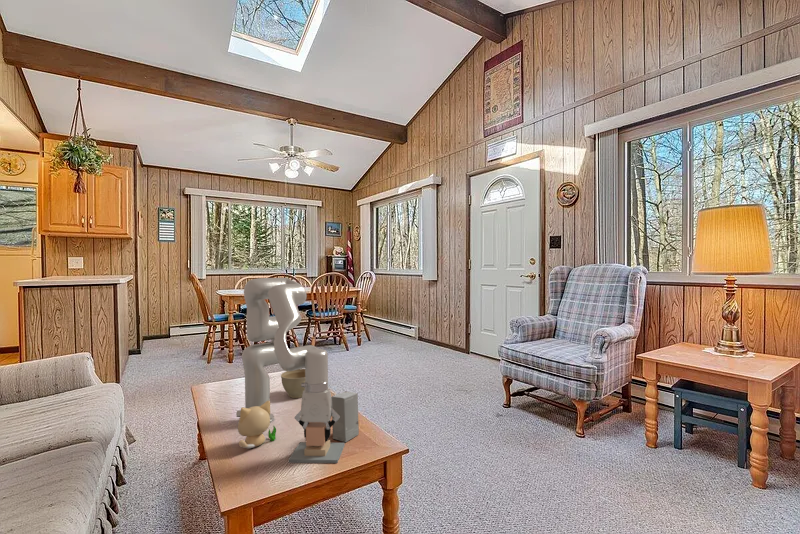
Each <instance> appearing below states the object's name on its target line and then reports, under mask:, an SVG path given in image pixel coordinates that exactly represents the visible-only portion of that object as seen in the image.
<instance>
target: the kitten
mask: <svg viewBox="0 0 800 534" xmlns="http://www.w3.org/2000/svg"><path fill="white" fill-rule="evenodd" d="M240 410H241V412H240V417H238V423H237V432H238V434H239V435H240V436H242V437H245V440H244V439H241V440H239V442H238V446H239V447H240V448H244V449H252V448H255V447H259V446H261V445H262V444H264V443H265V441H266V437H265V435H264V432H265V431H267V430H268V435H267V437H268V439H269V440H270V441H269V442H274V441H276V433H277V429H276V426H275V425H274V424H273V430H272V431H271V428H270V424H271V423H270V413H271V400H270V401H266V402H265V403H264V404H262V405H261V406H254V407H250V408H245V407H241V408H240ZM265 433H266V432H265Z"/></svg>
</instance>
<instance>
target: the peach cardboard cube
mask: <svg viewBox="0 0 800 534" xmlns="http://www.w3.org/2000/svg"><path fill="white" fill-rule="evenodd" d="M325 429H326V426H325V424H324V422H309V424H308V425H307V427H306V437H305V442H306V446H324V445H325V443H326V441H325Z"/></svg>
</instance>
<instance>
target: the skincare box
mask: <svg viewBox="0 0 800 534" xmlns="http://www.w3.org/2000/svg"><path fill="white" fill-rule="evenodd" d="M358 394H359V393H358V392H354V391H348V390H347V391H345V390H344V391H342V392H339V393H337V394H335V395H331V397H332V406H333V409H334V410H335V412H336V413H337V414H338V415H339V416H340V418H339V420H337V421H336V422H335V423H334V425H333V426H332V427H331V428H332V439H333V440H334V441H335V440H336V441H339V442H341V443H345V444H346V443H347V442H349V441H351V440H352V439H353V438H355V437H357V436H359V434H360V433H359V432H360V431H359V395H358ZM331 419H332V420H333V419H334V417H333V416H332V417H331ZM332 420H331V421H332Z"/></svg>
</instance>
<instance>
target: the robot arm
mask: <svg viewBox="0 0 800 534" xmlns="http://www.w3.org/2000/svg"><path fill="white" fill-rule="evenodd" d="M307 295H308V294H307V291H306V289H305V287H304V286H303V284H301V283H299V282H297V281H295V280H293V279H290V278H287V277H263V278H261V277H260V278H259V277H258V278H253V279H250V280H248V281H247V282H246V283H245V285H244V288H243V297H244V301H245V305H246V337H247V339H248V341H249V342H253V343H256V344H251V345H249V346H247V347H246V348H244V350H242V354H241V361H242V365H243V371H244V394H245V395H244V405H245V407H244V408H250V407H254V406H261V405H262V404H264V403H265V402H266V401H270V402H271V400H270V399H271V397H270V396H271V392H270V391H271V390H270V389H271V387H270V386H271V385H270V376H269V375H270V374H269V373H268V371H266V370H265V368H266V367H268V366H274V365H278V364H279V366H280V368H281V369H282V370H283V371H284V372H286V371H294V370H298V369H305V383H302V384H301V387H305V390H304V391H303V394H302V397H301V402H300V410H299V411H298V413H296V414H295V416H294V418H293V419H295V420H296V422H298V424H299V425H300V426H301V427H302V429H303V437H304V438H306V427H307V425H308V424H309V422H324V424H325V426H326V429H325V441H328V440H330V438H331V435H332V434H331V432H332V431H331V428H333V427H332V426H333V425H334V423H335V422H336V421H337V420H339V418H340V416H339V415H338V414H337V413H336V412H335V410H334V409H333V406H332V391H331V389H330V388H329V362H328V361H329V358H328V356H329V355H328V351H327V350H326V349H323V348H319V347H317V346H315V345H313V344H312V345H311V344H309V345H303V346H297V347H292V348H289V347H288V344H287V333H288V332H289V331H291V330H292V329H294V328H295V327H297V326H298V325H299V324H300V323H301V321H302V314H300V311H299V308H298V306H300V305H303V304H304V303H305V302H306V300H307ZM266 300H268V301H269V303H270V306H271V309H272V312H273V315H274V316H270V306H269V304H268V303H267V301H266ZM264 341H268V342H264ZM258 342H264V343H258ZM240 412H241V409H240V410H239V409H237V410H236V415H235V416H236V418H240ZM332 416H333V417H334V419H333V420H331V419H332ZM273 421H275V415H274V414H273V413H271V412H270V424H271V423H272V422H273Z"/></svg>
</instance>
